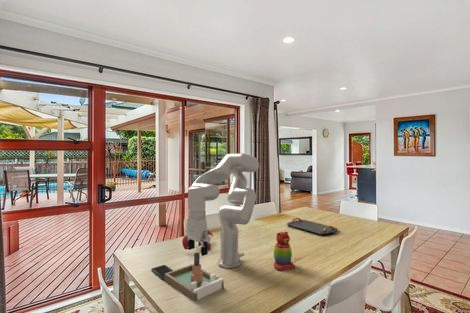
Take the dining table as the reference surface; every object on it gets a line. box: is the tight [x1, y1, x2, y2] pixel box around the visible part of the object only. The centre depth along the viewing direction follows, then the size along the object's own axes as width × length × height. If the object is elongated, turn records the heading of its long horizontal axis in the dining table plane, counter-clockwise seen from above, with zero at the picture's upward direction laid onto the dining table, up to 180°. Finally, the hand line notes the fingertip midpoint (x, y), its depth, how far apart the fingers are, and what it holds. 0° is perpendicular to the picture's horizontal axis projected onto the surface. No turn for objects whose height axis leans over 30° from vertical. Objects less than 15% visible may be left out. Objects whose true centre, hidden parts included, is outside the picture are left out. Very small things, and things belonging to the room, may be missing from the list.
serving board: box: [286, 217, 339, 237], centre depth 207 cm, size 39×23×6 cm, turn 36°
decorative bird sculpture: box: [181, 229, 214, 251], centre depth 163 cm, size 28×9×15 cm
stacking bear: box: [273, 231, 296, 272], centre depth 137 cm, size 11×10×18 cm
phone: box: [150, 264, 174, 282], centre depth 129 cm, size 8×1×15 cm
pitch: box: [164, 264, 225, 302], centre depth 118 cm, size 15×24×5 cm, turn 44°
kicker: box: [191, 252, 203, 284], centre depth 116 cm, size 5×2×13 cm, turn 134°
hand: (197, 251), depth 117 cm, fingers open, 9 cm apart
